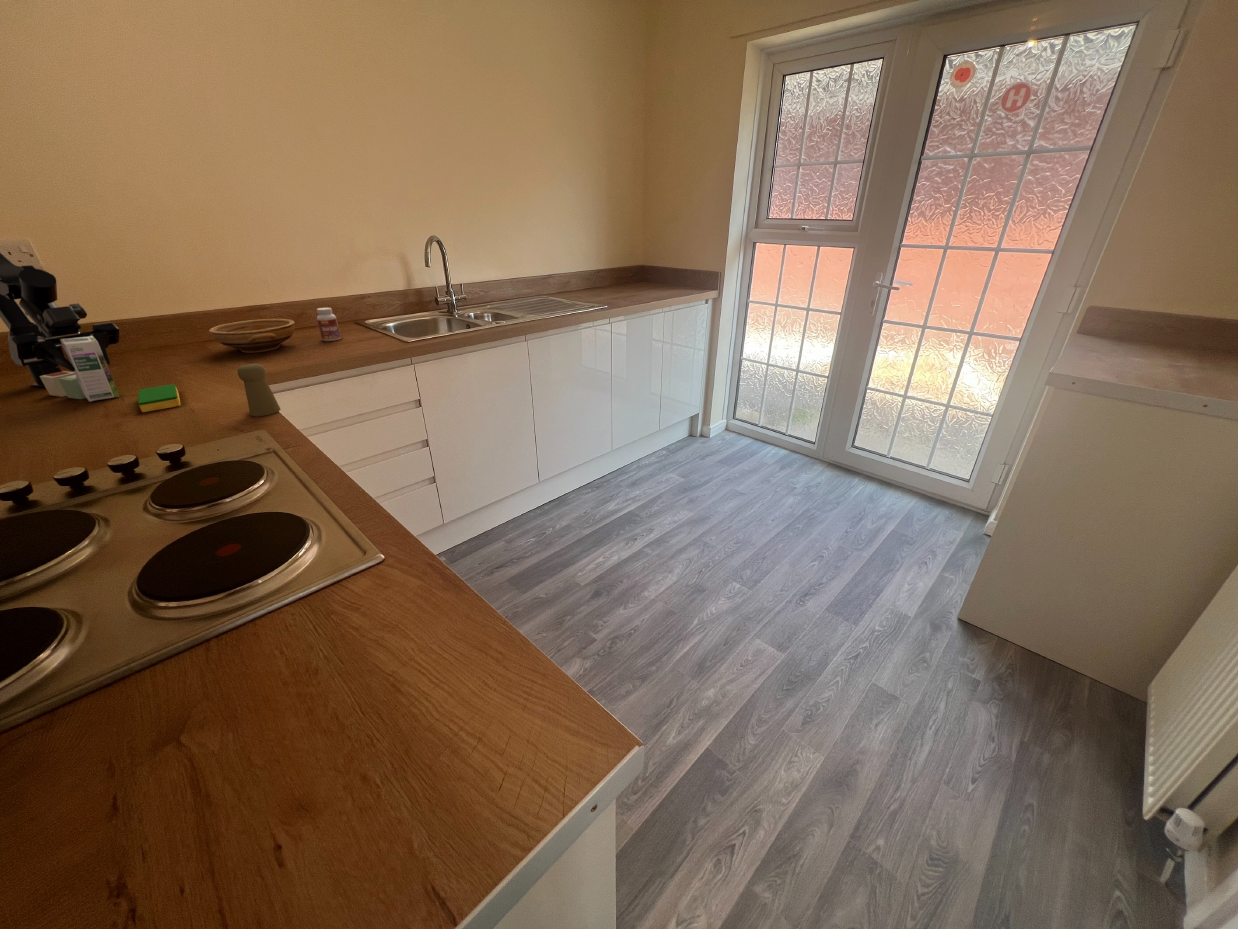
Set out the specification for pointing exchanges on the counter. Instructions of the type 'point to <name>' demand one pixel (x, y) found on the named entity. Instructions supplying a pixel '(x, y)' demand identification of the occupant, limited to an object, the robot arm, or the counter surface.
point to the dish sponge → (158, 398)
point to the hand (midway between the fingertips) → (91, 366)
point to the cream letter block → (55, 382)
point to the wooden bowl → (254, 334)
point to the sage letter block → (72, 387)
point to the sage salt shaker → (258, 390)
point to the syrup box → (90, 368)
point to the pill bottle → (328, 325)
